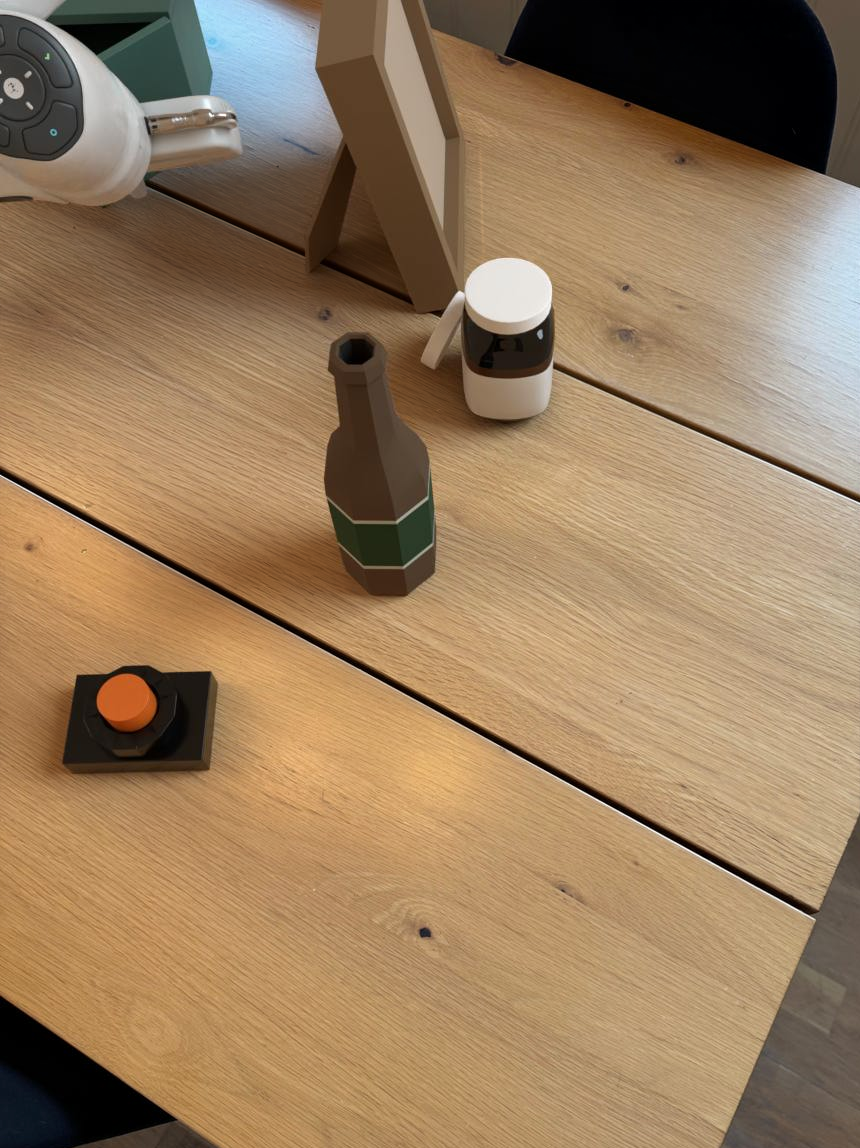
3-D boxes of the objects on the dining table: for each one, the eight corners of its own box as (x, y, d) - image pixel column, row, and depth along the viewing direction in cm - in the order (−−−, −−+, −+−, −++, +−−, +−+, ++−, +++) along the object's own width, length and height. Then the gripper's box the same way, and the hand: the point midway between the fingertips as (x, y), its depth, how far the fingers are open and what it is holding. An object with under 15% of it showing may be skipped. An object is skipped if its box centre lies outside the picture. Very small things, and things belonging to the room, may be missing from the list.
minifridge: (204, 136, 107) (168, 11, 96) (77, 140, 107) (25, 15, 96) (213, 73, 112) (180, -54, 100) (91, 76, 112) (44, -50, 100)
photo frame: (465, 150, 106) (457, -123, 83) (463, 313, 96) (453, 53, 74) (318, 152, 106) (270, -120, 84) (301, 315, 96) (242, 56, 74)
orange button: (103, 732, 74) (93, 721, 72) (110, 686, 76) (100, 674, 74) (154, 731, 74) (145, 720, 72) (160, 684, 76) (151, 672, 74)
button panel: (72, 774, 76) (51, 754, 73) (86, 686, 80) (67, 663, 76) (209, 770, 76) (195, 750, 73) (218, 682, 80) (205, 659, 76)
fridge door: (242, 169, 105) (211, 47, 93) (138, 237, 101) (93, 119, 89) (199, 138, 107) (164, 15, 96) (96, 203, 103) (46, 84, 92)
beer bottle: (421, 506, 86) (395, 286, 65) (454, 582, 83) (439, 377, 62) (331, 536, 85) (274, 322, 64) (361, 614, 82) (312, 417, 61)
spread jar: (553, 434, 90) (560, 337, 79) (420, 436, 90) (410, 340, 79) (548, 327, 95) (554, 224, 85) (423, 329, 95) (413, 226, 85)
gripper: (223, 60, 71) (240, 99, 84) (-85, 104, 70) (-19, 136, 83) (244, 161, 73) (258, 183, 86) (-56, 206, 72) (5, 222, 85)
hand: (120, 161), depth 84 cm, fingers open, 8 cm apart
